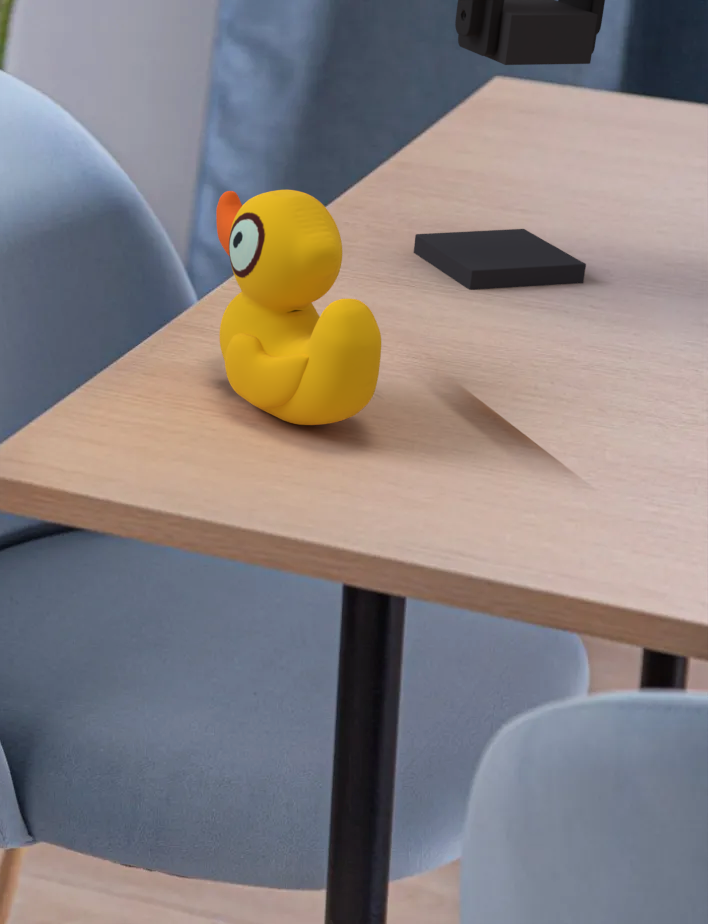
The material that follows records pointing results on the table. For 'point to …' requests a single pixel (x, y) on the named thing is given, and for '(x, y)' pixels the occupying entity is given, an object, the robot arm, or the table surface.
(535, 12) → the top pad
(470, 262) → the base pad
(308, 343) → the duckling
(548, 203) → the table surface
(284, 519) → the table surface
